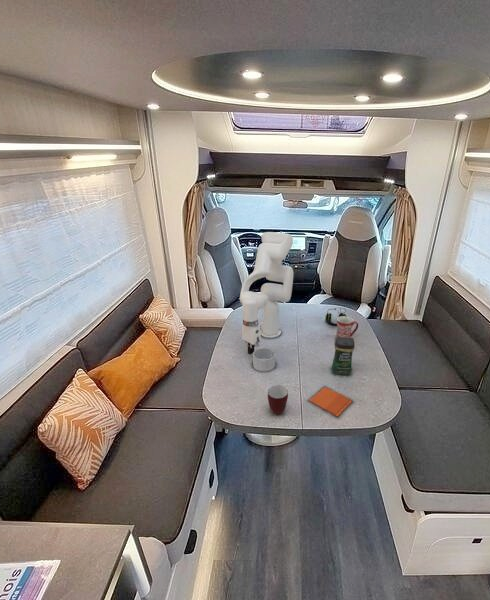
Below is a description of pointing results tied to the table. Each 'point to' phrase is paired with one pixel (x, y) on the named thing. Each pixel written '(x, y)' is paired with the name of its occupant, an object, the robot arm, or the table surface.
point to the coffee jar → (343, 355)
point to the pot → (264, 359)
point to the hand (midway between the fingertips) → (251, 353)
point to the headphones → (328, 318)
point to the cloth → (331, 401)
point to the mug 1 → (277, 398)
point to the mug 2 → (345, 326)
